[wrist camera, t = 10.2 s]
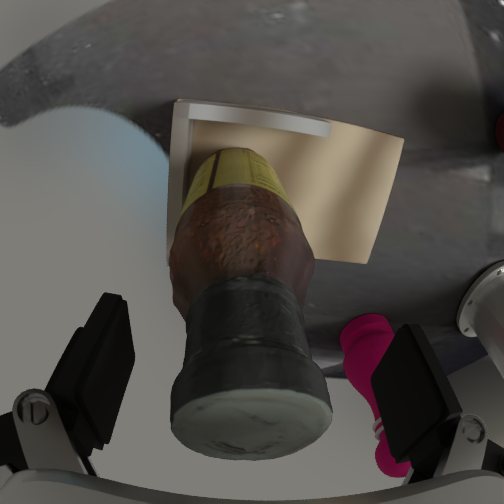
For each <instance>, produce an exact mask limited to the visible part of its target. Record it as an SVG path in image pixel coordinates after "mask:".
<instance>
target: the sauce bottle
mask: <svg viewBox="0 0 504 504" xmlns="http://www.w3.org/2000/svg"><path fill="white" fill-rule="evenodd" d="M314 265H315V262H314V253H313V251H312V249H311V247H310V245H309V243H308V241H307V239H306V237H305V234H304V232H303V229H302V225H301V222H300V220H299V218H298V215H297V213H296V211H295V210H294V208H293V206H292V204H291V202H290V200H289V198H288V196H287V194H286V192H285V190H284V188H283V186H282V184H281V182H280V180H279V178H278V176H277V174H276V172H275V170H274V169H273V167H272V166H271V164H270V163H269V161H267V160H266V159H265V158H264V157H262V156H261V155H259V154H257V153H256V152H255V151H253V150H251V149H249V148H239V147H236V148H227V149H222V150H218V151H216V152H215V153H213V154H212V155H211V156H210V157H209V158H208V159H207V160H205V161H204V163H203V164H202V165H201V166H200V167H199V169H198V170H197V172H196V174H195V177H194V180H193V182H192V185H191V188H190V190H189V193H188V196H187V198H186V201H185V204H184V206H183V209H182V212H181V215H180V218H179V220H178V223H177V226H176V230H175V234H174V242H173V245H172V247H171V249H170V257H169V267H170V279H171V283H172V287H173V303H174V305H175V306H176V308H177V309H178V310H179V312H180V314H181V315H182V317H183V319H184V320H185V322H186V333H187V339H186V348H185V358H184V362H183V368H182V370H181V372H180V373H179V374H178V376H177V377H176V379H175V381H174V384H173V386H172V391H171V410H170V422H171V430H172V432H173V434H174V436H175V437H176V438H177V439H178V440H179V441H180V442H181V443H182V444H183V445H184V446H186V447H187V448H189V449H191V450H193V451H195V452H198V453H201V454H204V455H206V456H209V457H214V458H220V459H229V460H252V461H256V460H264V459H265V460H266V459H275V458H279V457H283V456H285V455H289V454H292V453H295V452H297V451H299V450H301V449H303V448H305V447H307V446H308V445H310V444H312V443H313V442H315V441H316V440H317V439H318V438H319V437H320V436H321V435H322V434H323V433H324V432H325V431H326V430H327V429H328V427H329V426H330V424H331V422H332V413H333V410H332V406H331V402H330V396H329V392H328V389H327V383H326V380H325V376H324V374H323V373H322V371H321V369H320V367H319V366H318V365H317V364H316V363H315V362H314V361H312V357H311V353H310V349H309V345H308V341H307V338H306V334H305V331H304V317H303V314H302V308H303V304H304V299H305V295H306V291H307V287H308V284H309V281H310V278H311V276H312V274H313V270H314Z"/></svg>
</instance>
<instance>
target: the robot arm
mask: <svg viewBox="0 0 504 504" xmlns="http://www.w3.org/2000/svg"><path fill="white" fill-rule="evenodd" d="M457 326H458V328H459V330H460V331H461V332H462V334H464V335H465V336H469V337H474V336H477V337H478V338H479V340H480V341H481V343H482V344H483V346H484V347H485V349H486V350H487V352H488V354H489V355H490V357H491V358H492V360H493V361H494V363H495V365H496V366H497V368H498V370H499V371H500V373H501V375H502V376H503V378H504V261H502V262H499V263H497V264H495V265H493V266H491V267H490V268H489V269H487V270H486V271H485V272H484V273H482V274H481V275H480V276H479V277H478V278H477V279H476V281H475V282H474V283H473V284H472V285H471V287H470V288H469V290H468V291H467V292H466V294H465V296H464V298H463V299H462V302H461V304H460V306H459V309H458V313H457ZM134 362H135V352H134V346H133V340H132V334H131V327H130V320H129V313H128V305H127V301H125V300H123V299H122V296H121V295H117V294H112V293H106V292H105V293H104V294H103V295H102V296H101V298H100V300H99V302H98V303H97V305H96V306H95V308H94V310H93V312H92V314H91V315H90V317H89V319H88V321H87V322H86V324H85V326H84V327H79V328H78V329H77V330H76V331H75V333H74V334H73V336H72V338H71V340H70V342H69V344H68V345H67V347H66V349H65V351H64V353H63V355H62V356H61V359H60V360H59V362H58V364H57V366H56V368H55V370H54V372H53V374H52V376H51V378H50V380H49V382H48V384H47V386H46V388H45V390H44V391H43V390H41V389H35V388H34V389H28V390H26V391H24V392H22V393H21V394H20V395H18V397H17V398H16V399H15V401H14V404H13V408H12V411H11V412H9V413H6V414H3V415H1V416H0V490H1V491H0V504H504V448H502V447H501V446H499V445H497V444H496V443H494V442H492V441H491V440H489V439H488V430H487V426H486V425H485V423H484V422H483V420H482V419H481V418H479V417H478V416H476V415H473V414H467V415H464V416H463V417H462V418H461V417H460V414H461V413H462V412H463V411H462V408H461V406H460V404H459V402H458V400H457V397H456V395H455V393H454V391H453V389H452V387H451V385H450V383H449V380H448V378H447V376H446V374H445V372H444V370H443V368H442V366H441V364H440V362H439V360H438V358H437V356H436V354H435V352H434V350H433V349H432V347H431V345H430V343H429V341H428V339H427V337H426V335H425V334H424V332H423V330H422V328H421V327H420V325H418V324H404V325H403V326H402V327H401V328H399V329H398V330H397V332H396V334H395V336H394V338H393V339H392V341H391V343H390V345H389V346H388V348H387V350H386V352H385V353H384V355H383V357H382V359H381V360H380V362H379V364H378V365H377V367H376V369H375V370H374V372H373V373H372V375H371V380H370V382H371V386H372V390H373V393H374V396H375V400H376V403H377V406H378V410H379V413H380V417H381V420H382V424H383V427H384V431H385V435H386V438H387V442H388V446H389V450H390V453H391V456H392V457H393V458H395V461H396V464H400V463H405V462H408V461H410V463H411V467H410V469H409V471H408V473H407V475H406V477H405V479H404V481H403V483H402V485H401V486H399V487H394V488H390V489H385V490H380V491H374V492H368V493H362V494H355V495H348V496H340V497H332V498H321V499H308V500H285V501H254V500H231V499H218V498H207V497H198V496H190V495H183V494H176V493H170V492H164V491H158V490H153V489H147V488H142V487H137V486H133V485H129V484H124V483H120V482H116V481H112V480H108V479H104V478H100V477H99V475H98V473H97V472H96V469H95V467H94V466H93V464H92V462H91V460H90V458H89V456H91V453H92V450H93V448H96V449H99V450H103V446H104V444H109V442H110V439H111V436H112V433H113V429H114V426H115V422H116V419H117V416H118V412H119V409H120V406H121V403H122V400H123V396H124V393H125V390H126V387H127V384H128V381H129V378H130V375H131V372H132V369H133V366H134Z"/></svg>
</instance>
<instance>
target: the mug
mask: <svg viewBox="0 0 504 504" xmlns="http://www.w3.org/2000/svg"><path fill="white" fill-rule="evenodd" d="M495 136H496V140H497V142H498V144H499V146H500V147H501V149H502V151H503V152H504V113H503V114H501V115H500V116H499V118H498V119H497V122H496V126H495Z"/></svg>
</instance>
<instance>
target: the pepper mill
mask: <svg viewBox="0 0 504 504" xmlns="http://www.w3.org/2000/svg"><path fill="white" fill-rule="evenodd" d="M394 336H395V334H393V331H392V328H391V326H390V324H389V322H388V320H387V319H386V318H385V317H384V316H382V315H380V314H372V313H371V314H365V315H362V316H359V317H357V318H355V319H354V320H352V321H351V322H349V323H348V324H347V325H346V326H345V327H344V329H343V330H342V332H341V335H340V343H341V347H342V350H343V353H344V354H345V358H344V361H343V367H344V371H345V373H346V376H347V378H348V380H349V381H350V383H351V384H352V385H353V387H354V388H355V389H356V390H357V391H358V392H359V393H360V394H361V395H362V396H363V397H364V398H365V399H366V400H367V402H368V403H369V405H370V406H371V409H372V411H373V414H374V417H375V423H374V425H373V431H374V432H375V438H376V439H377V440H379V441H380V442H379V444H378V446H377V448H376V451H375V459H376V463H377V465H378V467H379V469H380V470H381V471H382V472H383V473H384V474H385V475H388V476H390V477H396V478H397V477H406V475H407V473H408V471H409V469H410V467H411V463H410V461H408V462H405V463H400V464H396V461H395V458H393V457H392V456H391V453H390V450H389V446H388V442H387V438H386V435H385V431H384V427H383V424H382V420H381V417H380V413H379V410H378V406H377V403H376V400H375V396H374V393H373V390H372V386H371V382H370V380H371V375H372V373H373V372H374V370H375V369H376V367H377V365H378V364H379V362H380V360H381V359H382V357H383V355H384V353H385V352H386V350H387V348H388V346H389V345H390V343H391V341H392V339H393V338H394Z"/></svg>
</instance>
